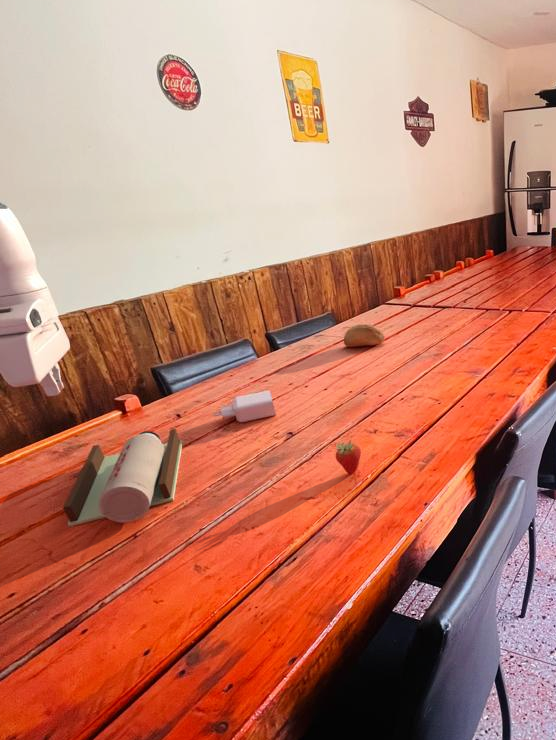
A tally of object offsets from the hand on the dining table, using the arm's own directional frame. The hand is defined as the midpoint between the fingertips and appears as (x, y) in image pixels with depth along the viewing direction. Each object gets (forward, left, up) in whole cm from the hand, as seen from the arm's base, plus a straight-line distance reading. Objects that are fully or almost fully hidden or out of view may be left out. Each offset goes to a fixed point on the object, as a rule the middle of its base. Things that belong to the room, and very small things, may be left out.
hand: (56, 392), depth 85 cm
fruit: (+44, -2, -28) cm, 53 cm away
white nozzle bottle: (+24, +41, -28) cm, 55 cm away
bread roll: (+67, +85, -28) cm, 112 cm away
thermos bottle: (+3, -1, -23) cm, 24 cm away
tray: (0, +19, -28) cm, 34 cm away
